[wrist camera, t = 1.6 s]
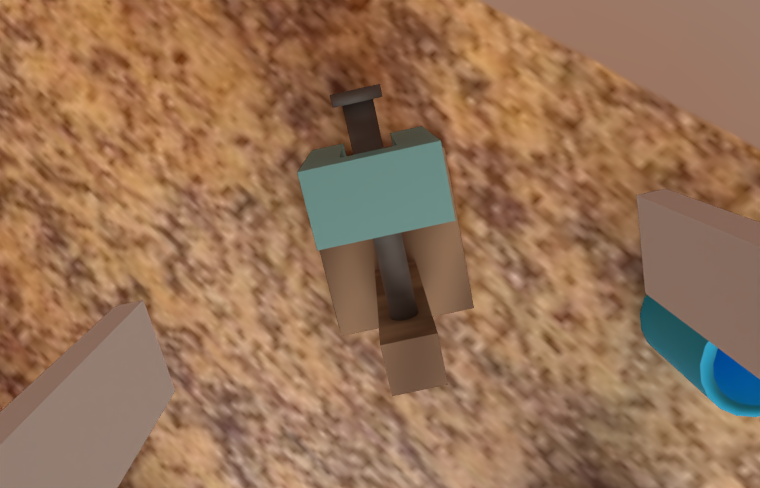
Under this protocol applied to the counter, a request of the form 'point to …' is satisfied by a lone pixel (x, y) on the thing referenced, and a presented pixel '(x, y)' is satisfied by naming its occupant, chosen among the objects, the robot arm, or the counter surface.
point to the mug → (701, 361)
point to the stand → (397, 274)
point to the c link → (376, 189)
